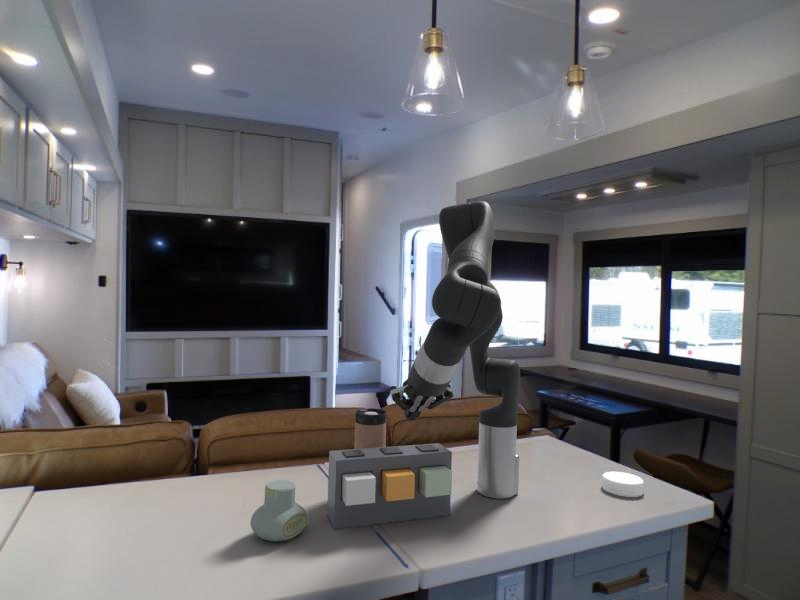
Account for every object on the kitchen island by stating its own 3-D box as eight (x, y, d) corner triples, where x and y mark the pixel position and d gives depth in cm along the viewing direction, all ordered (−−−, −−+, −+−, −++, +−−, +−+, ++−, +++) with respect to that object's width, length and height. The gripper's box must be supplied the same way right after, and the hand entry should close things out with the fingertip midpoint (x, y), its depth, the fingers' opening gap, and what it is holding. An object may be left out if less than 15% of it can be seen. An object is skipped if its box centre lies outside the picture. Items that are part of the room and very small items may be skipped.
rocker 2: (438, 483, 116) (438, 461, 116) (451, 494, 110) (452, 471, 110) (413, 485, 114) (414, 463, 114) (425, 497, 108) (426, 473, 108)
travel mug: (380, 501, 120) (382, 416, 120) (348, 498, 121) (351, 413, 121) (387, 489, 127) (389, 409, 127) (357, 486, 129) (360, 407, 129)
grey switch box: (437, 503, 120) (439, 441, 120) (449, 515, 113) (451, 450, 113) (327, 515, 111) (329, 449, 111) (334, 529, 105) (336, 459, 105)
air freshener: (273, 552, 95) (275, 498, 95) (242, 539, 99) (244, 488, 99) (313, 530, 104) (314, 481, 104) (283, 520, 108) (285, 473, 108)
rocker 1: (365, 490, 111) (366, 467, 111) (375, 502, 104) (375, 478, 104) (338, 492, 109) (339, 469, 109) (346, 505, 102) (346, 480, 102)
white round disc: (601, 494, 130) (601, 480, 130) (601, 481, 139) (602, 468, 139) (644, 501, 126) (645, 486, 126) (642, 487, 135) (642, 474, 135)
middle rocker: (402, 486, 113) (403, 464, 113) (414, 498, 107) (414, 474, 107) (376, 489, 111) (377, 466, 111) (386, 501, 105) (387, 477, 105)
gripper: (463, 348, 96) (435, 399, 108) (396, 348, 92) (375, 401, 104) (474, 382, 91) (444, 431, 103) (404, 384, 87) (381, 435, 99)
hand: (410, 416), depth 103 cm, fingers closed
